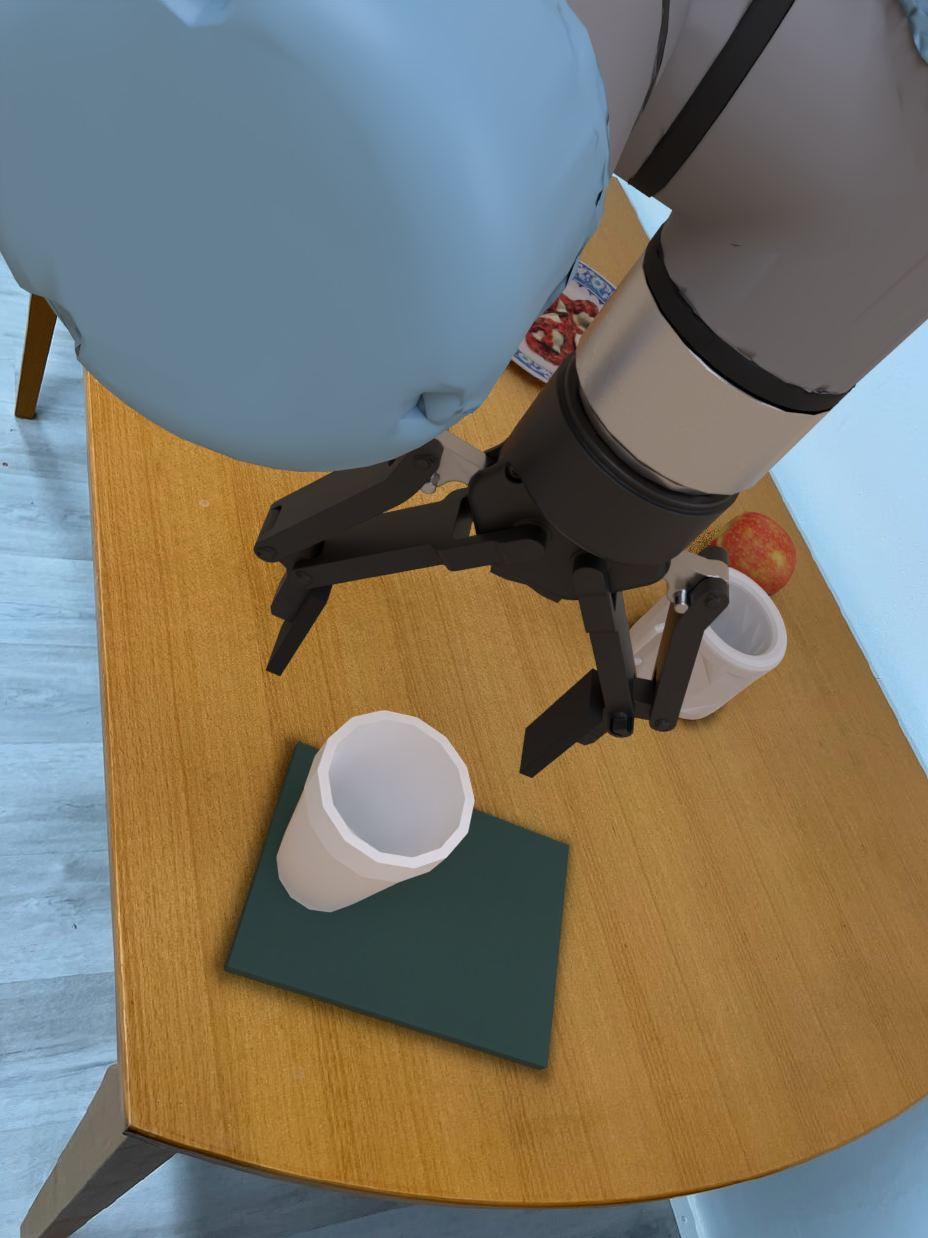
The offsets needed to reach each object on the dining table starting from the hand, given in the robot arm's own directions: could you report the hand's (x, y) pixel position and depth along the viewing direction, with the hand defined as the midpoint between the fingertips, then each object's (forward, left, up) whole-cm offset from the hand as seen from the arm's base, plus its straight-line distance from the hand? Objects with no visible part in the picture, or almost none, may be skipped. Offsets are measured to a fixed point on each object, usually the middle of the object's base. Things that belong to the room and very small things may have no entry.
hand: (408, 704), depth 48 cm
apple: (+37, +45, -22) cm, 62 cm away
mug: (+29, +29, -22) cm, 46 cm away
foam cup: (+3, 0, -21) cm, 21 cm away
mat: (+10, 0, -22) cm, 24 cm away
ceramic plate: (+13, +71, -22) cm, 75 cm away
